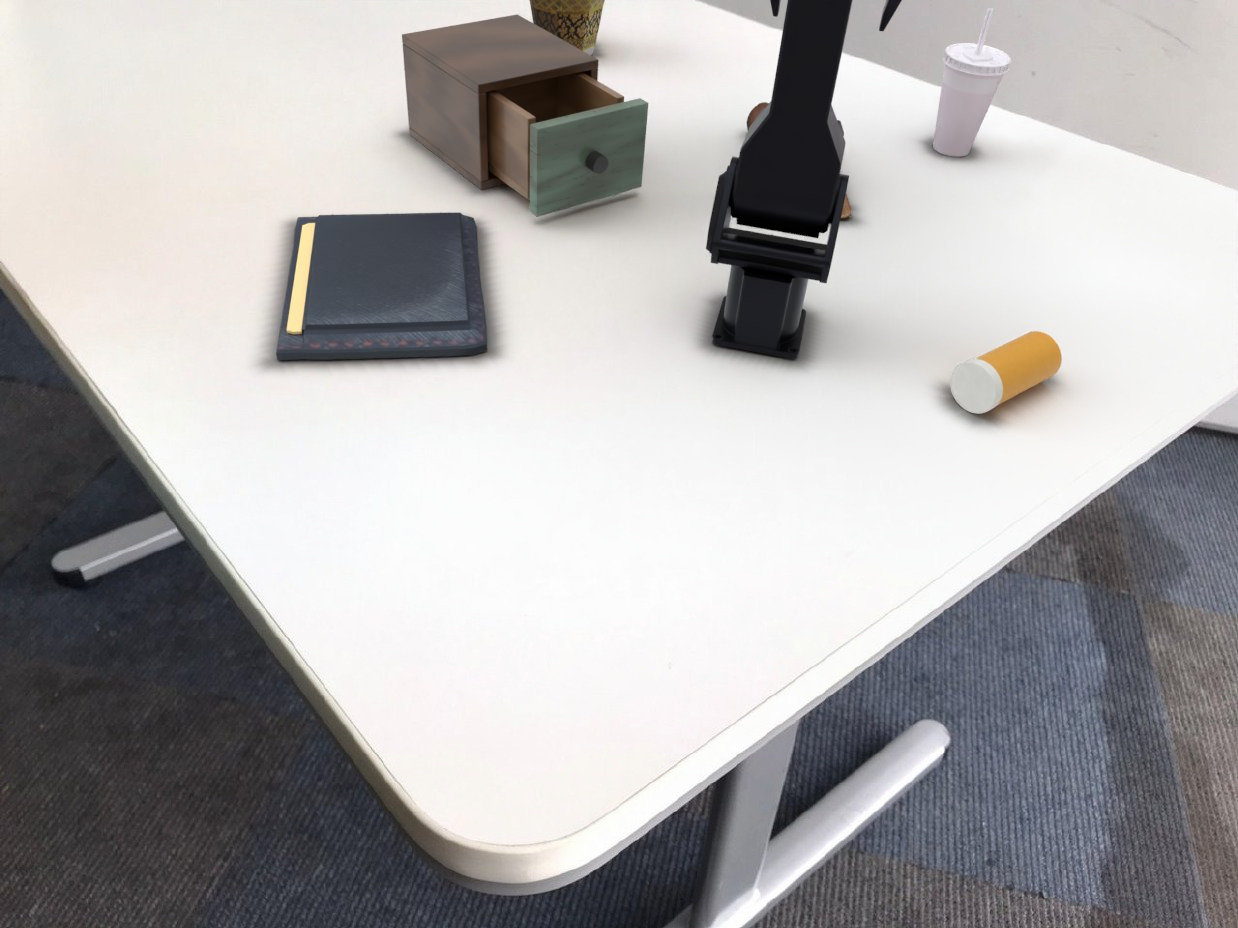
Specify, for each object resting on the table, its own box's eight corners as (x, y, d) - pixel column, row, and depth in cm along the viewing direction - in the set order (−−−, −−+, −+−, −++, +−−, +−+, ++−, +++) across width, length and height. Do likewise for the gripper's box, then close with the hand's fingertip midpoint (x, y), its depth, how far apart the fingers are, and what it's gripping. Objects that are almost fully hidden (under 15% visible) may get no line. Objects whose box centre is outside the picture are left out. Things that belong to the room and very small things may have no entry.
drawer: (650, 192, 92) (657, 107, 87) (544, 223, 86) (546, 135, 81) (563, 136, 100) (566, 55, 95) (462, 161, 94) (458, 77, 89)
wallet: (487, 335, 72) (263, 339, 70) (487, 357, 73) (267, 362, 71) (480, 201, 86) (295, 202, 84) (481, 222, 88) (299, 222, 86)
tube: (1009, 360, 77) (1028, 318, 74) (1051, 388, 75) (1071, 346, 72) (942, 393, 73) (959, 351, 70) (984, 424, 71) (1004, 382, 68)
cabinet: (594, 160, 98) (598, 59, 92) (481, 190, 92) (478, 84, 86) (517, 110, 106) (517, 14, 100) (409, 134, 100) (401, 34, 94)
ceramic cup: (623, 49, 121) (628, -41, 115) (576, 73, 115) (579, -21, 108) (534, 24, 126) (534, -64, 119) (484, 45, 119) (482, -47, 113)
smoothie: (912, 152, 104) (950, 9, 95) (928, 130, 109) (966, -8, 99) (974, 168, 102) (1019, 24, 93) (988, 145, 107) (1032, 6, 97)
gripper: (987, -190, 83) (936, 10, 93) (760, -215, 86) (735, -17, 96) (993, -167, 75) (937, 49, 85) (743, -195, 77) (717, 18, 87)
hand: (828, 22), depth 89 cm, fingers open, 9 cm apart
